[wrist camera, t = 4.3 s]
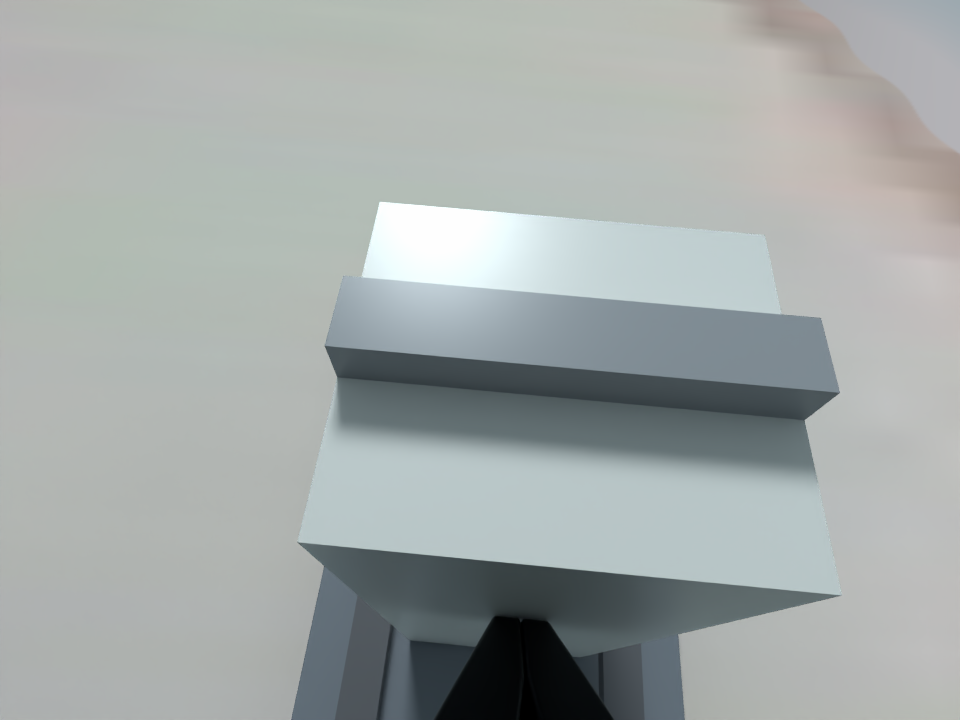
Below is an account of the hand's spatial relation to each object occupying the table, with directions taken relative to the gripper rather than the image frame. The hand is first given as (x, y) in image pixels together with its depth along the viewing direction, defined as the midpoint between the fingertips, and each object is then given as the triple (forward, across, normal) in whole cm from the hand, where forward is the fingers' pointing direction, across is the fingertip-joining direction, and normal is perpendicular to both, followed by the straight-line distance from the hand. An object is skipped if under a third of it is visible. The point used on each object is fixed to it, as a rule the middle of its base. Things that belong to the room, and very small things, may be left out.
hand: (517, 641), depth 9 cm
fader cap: (+7, 0, +4) cm, 8 cm away
